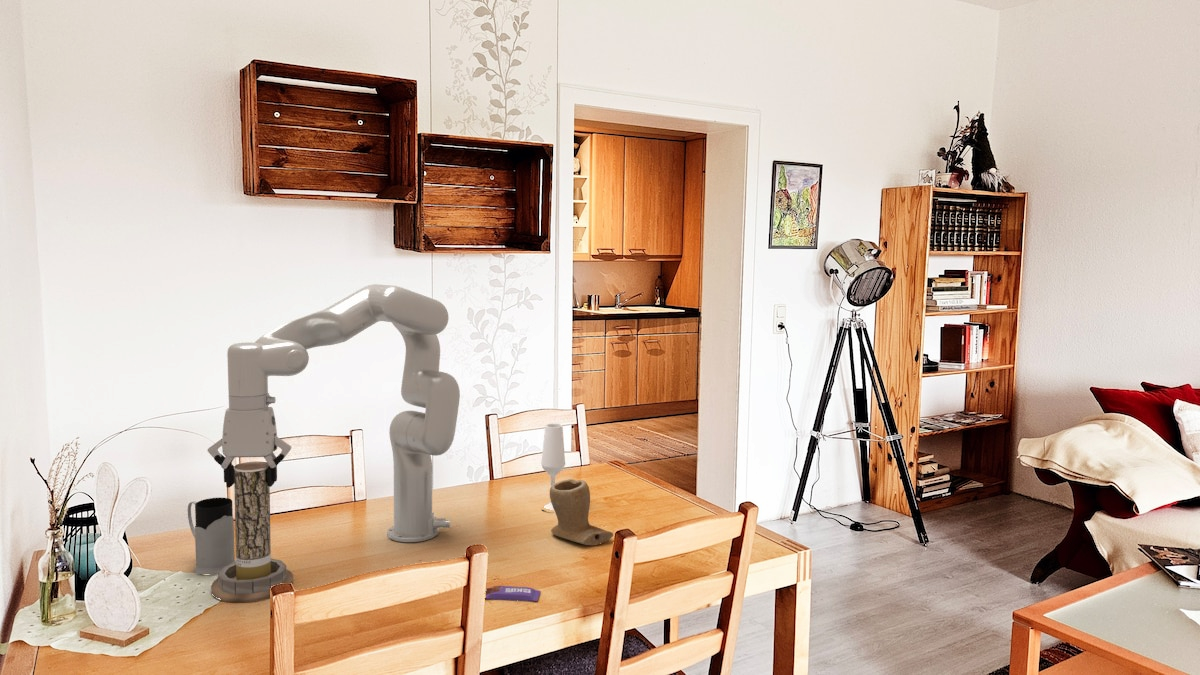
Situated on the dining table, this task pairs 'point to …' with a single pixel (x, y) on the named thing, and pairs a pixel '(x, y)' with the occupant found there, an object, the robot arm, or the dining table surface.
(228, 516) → the glass holder
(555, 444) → the champagne flute
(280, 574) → the roll stand
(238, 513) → the paper tube
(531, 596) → the snack package
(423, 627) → the dining table surface
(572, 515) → the clay pipe bowl
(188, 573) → the dining table surface
